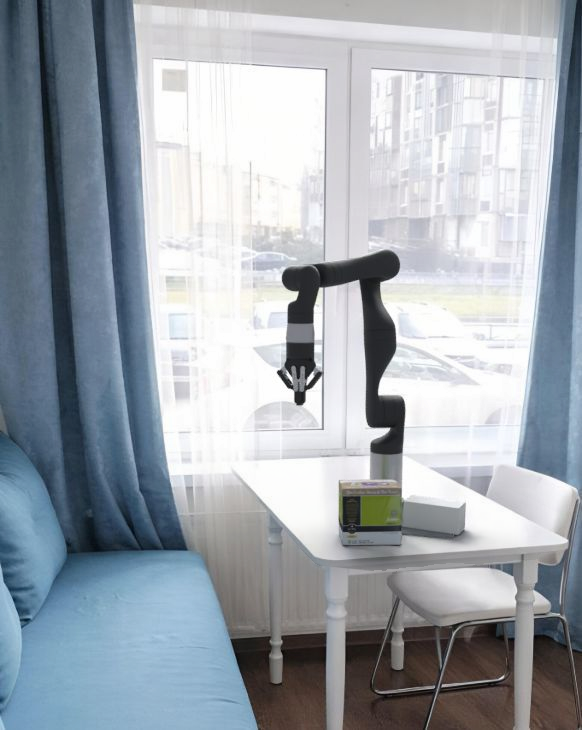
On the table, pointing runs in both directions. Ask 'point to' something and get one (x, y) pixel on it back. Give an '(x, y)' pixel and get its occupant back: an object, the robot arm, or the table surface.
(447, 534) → the mat
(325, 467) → the table surface
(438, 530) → the milk carton
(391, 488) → the tea box
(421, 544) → the table surface
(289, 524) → the table surface
